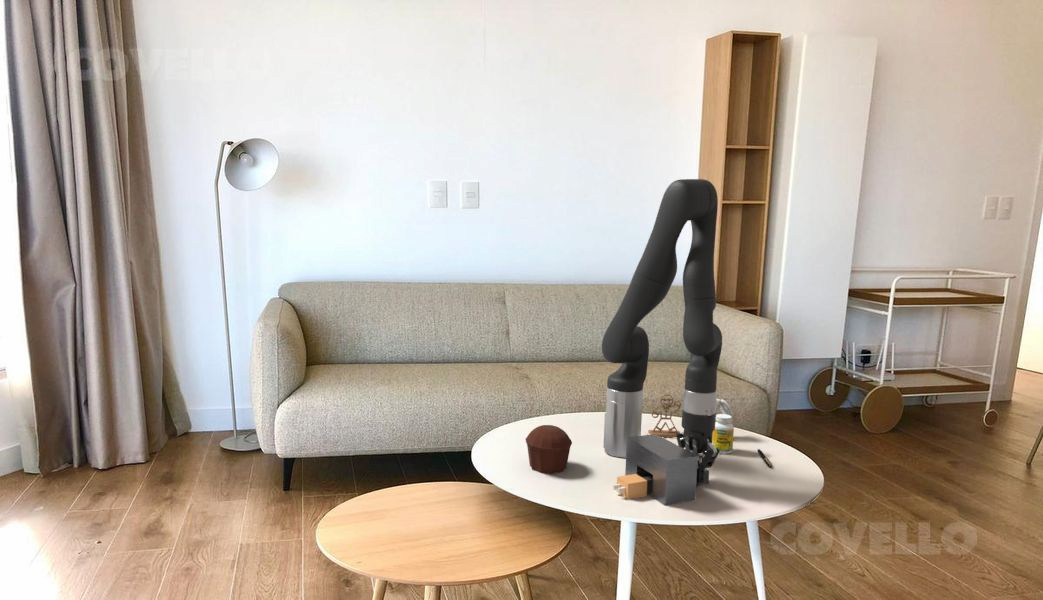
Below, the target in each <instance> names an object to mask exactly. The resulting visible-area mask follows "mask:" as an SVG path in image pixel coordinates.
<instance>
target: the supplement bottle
mask: <svg viewBox="0 0 1043 600" xmlns="http://www.w3.org/2000/svg"><path fill="white" fill-rule="evenodd" d="M732 420H733V419H732V415H731V416H730V415H726V414H723V413H716V420H715V430H714V431H713V435H712V445H713V446H714V447H715V448H719V450H720V452H719V454H722V455H726V454H727V455H728V454H731V453H733V449H734V433H735V431H734V430H735V429H734V425H733V423H732Z"/></svg>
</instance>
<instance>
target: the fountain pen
mask: <svg viewBox="0 0 1043 600" xmlns="http://www.w3.org/2000/svg"><path fill="white" fill-rule="evenodd" d="M757 453H758V454H759V456H760V457H761V459H762V460H763V462H764V464H765V465H766V466H767V467H768V468H769V469H772V468H773V465H772V463H771V461H770V460H769V459H768V457H767V456H766V454H764V453H763V451H762V450H761V449H760V448H757Z"/></svg>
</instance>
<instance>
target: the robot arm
mask: <svg viewBox="0 0 1043 600" xmlns="http://www.w3.org/2000/svg"><path fill="white" fill-rule="evenodd" d="M717 192H718V191H717V189H716V187H715V186H714V184H713V183H712V182H711V181H709V180H707V179H703V178H687V179H685V178H683V179H681V178H680V179H676V180H674V181H672V182H671V183H670V184H669V185H668V186H667V187H666V189H665V191H664V193H663V195H662V199H661V202H660V205H659V208H658V211H657V214H656V218H655V220H654V225H653V227H652V230H651V233H650V235H649V238H648V241H647V243H646V246H645V248H644V251H643V253H642V255H641V258H640V260H639V261H638V263H637V266H636V268H635V270H634V273H633V275H632V278H631V280H630V283H629V286H628V288H627V291H626V292H625V294H624V297H623V299H622V301H621V303H620V305H619V306H618V308H617V311H616V313H615V314H614V316H613V318H612V320H611V321H610V324H609V325H608V326H607V328H606V330H605V331H604V332H605V333H604V335H603V338H602V342H601V352H602V356H603V358H604V360H605V361H607V362H609V363H611V364H621V365H620V367H619V368H618V369H617V370H615V371H614V372H612V373H611V374H610V375H608V377H607V383H606V384H607V385H606V386H607V387H606V406H605V407H606V411H605V413H604V424H603V425H604V426H603V427H604V428H603V448H604V453H606V454H607V455H609V456H612V457H617V458H625V459H626V448H627V437H635V436H642V420H643V419H642V418H643V399H644V398H643V396H644V384H645V381H646V379H647V374H648V373H647V372H648V364H649V354H650V353H649V352H650V343H649V342H650V340H649V337H648V334H647V331H646V330H645V329H644V328H642V327H641V326H639V324H640V323H641V322H642V320H643V319H644V318H645V317H647V315H649V314H650V313H651V312H652V311H653V310H655V309H656V307H658V306H659V304H660V303H662V301H663V300H664V299H665V298H666V297H667V295H668V294H669V291H670V289H671V286H672V284H673V283H674V280H675V278H676V275H677V273H678V272H677V271H678V260H677V259H678V258H677V243H678V240H679V237H680V235H681V233H682V231H683V229H684V227H685V225H686V224H687V222H688V221H690V225H691V244H690V248H689V252H688V254H687V258H686V261H685V264H684V268H683V272H682V289H683V291H682V292H683V301H684V315H683V324H682V325H683V327H682V336H683V338H682V339H683V343H684V345H685V348H686V349H687V350H688V352H689V353H690V361H689V362H688V365H687V367H686V369H685V375H684V377H685V378H684V390H683V394H682V395H683V397H682V406H681V408H682V409H681V427H682V429H683V432H680V433H677V434H676V437H677V438H676V440H677V441H676V442H677V445H678V446H680V447H682V448H683V449H685V450H687V451H689V452H691V453H693V454H695V455H697V456H698V462H697V479H696V484H699V485H701V484H700V483H703V481H704V470H705V469H710V468H712V467H713V464H714V463H715V461H716V460H717V457H718V456H719V454H720V453H719V452H720V450H719V448H715V447H714V446H713V445H712V438H711V433H712V432H713V431H714V430H715V422H716V415H717V405H718V402H717V399H718V398H717V385H718V384H717V382H718V368H719V363H720V358H721V353H722V348H723V335H722V331H721V329H720V327H719V326H718V325H717V324H716V323H714V311H715V310H716V307H717V291H716V282H715V246H716V234H717V220H718V219H717V218H718V209H719V208H718V204H719V203H718V202H719V201H718V193H717ZM716 398H717V399H716ZM700 461H701V462H700Z"/></svg>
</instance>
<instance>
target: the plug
mask: <svg viewBox="0 0 1043 600" xmlns="http://www.w3.org/2000/svg"><path fill="white" fill-rule="evenodd" d="M709 479H710V470H709V469H708V468H705V470H704V481H703V483H700V484H696V486H698V485H704V484H709V481H710V480H709ZM612 490H614V491H616V492H617V493H618V494H620V495H621V496H623V498H625V499H626V500H629V499H636V498H641V497H646V496H648V494H652V490H653V476H648V477H640V476H639V475H637V474H632V475H626V476H625V475H620V476H617V477H616V483H614V484H612Z"/></svg>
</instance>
